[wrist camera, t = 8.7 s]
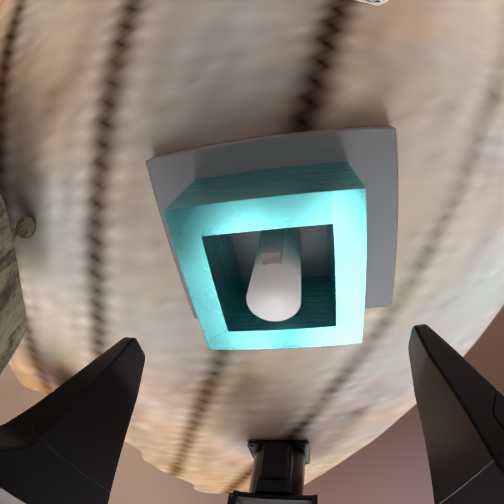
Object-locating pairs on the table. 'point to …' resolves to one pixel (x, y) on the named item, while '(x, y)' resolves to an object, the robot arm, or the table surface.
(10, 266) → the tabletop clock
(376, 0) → the juice carton
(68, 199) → the table surface
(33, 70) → the table surface
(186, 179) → the station
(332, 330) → the teal square ring
